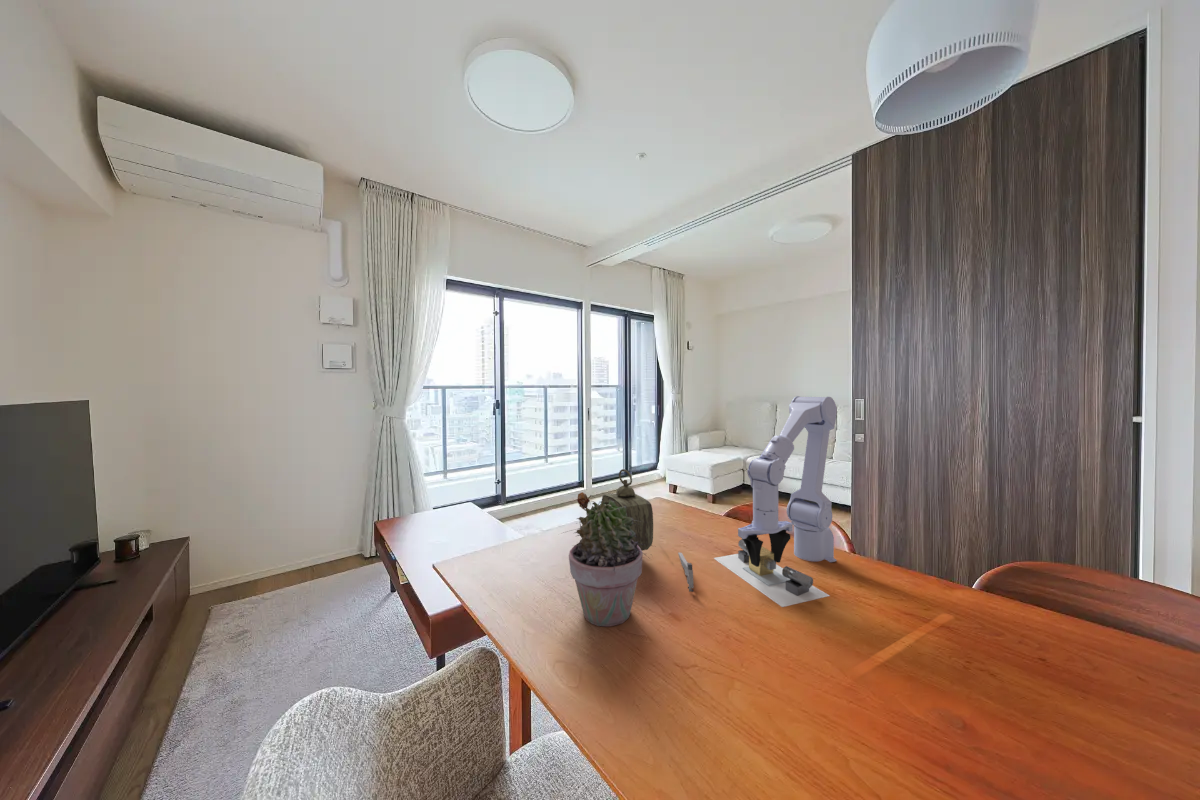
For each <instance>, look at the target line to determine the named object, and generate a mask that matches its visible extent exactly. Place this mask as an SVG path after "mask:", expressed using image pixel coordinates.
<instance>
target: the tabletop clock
mask: <svg viewBox="0 0 1200 800" xmlns="http://www.w3.org/2000/svg"><path fill="white" fill-rule="evenodd" d="M623 472H624V473H626V474H627V475H628V477H629V479H630V480H629V481H630V482H629V483H628V480H627V479H624V480H623V479H622V477H621V476H622V473H623ZM618 478H619V481H620V483H621V484H623V485H621V486H619V487H618V488H617V490H616V492H615V493H610V494H603V495H602V497H601V501H602V500H603V502H604V503H605V504H606V505H607V504H609V500H612V501H614V502H615V504H616V506H617V507H624V506H625V507H626V508H627V509H626V513H627V516H628V517H631V518H633V523H636V524H632V525H633V526H630V529H631V530H633V531H634V532H635V533H636V535H635V536H637V537H633V538H632V540H633V541H634V542H637V541H638V544H637V545H638V546H639V547H640V549H641V550H642V552H643V551H647V550H649V549H650V547H651V546H650V545H652V546H653V543H654V512H653V506H652V503H651V502H650V501H649V500H648V499H646V498H644V497H643V496H641V495H638V494H636V493H635V490H634V489H633V487H631V485H632V484H633V478H632V475H631V473H630V472H629V470H627V469H625V468H622V469H621V470H619V473H618ZM635 520H637V521H635ZM641 521H642V522H641ZM646 522H648V523H646ZM639 524H640V525H639ZM642 525H643V526H642ZM639 537H640V538H639ZM639 544H645V545H639Z"/></svg>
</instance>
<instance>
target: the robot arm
mask: <svg viewBox="0 0 1200 800" xmlns="http://www.w3.org/2000/svg"><path fill="white" fill-rule="evenodd" d="M788 405H789V406H788V413H789V416H788V417H787V419H786V421H785V423H784V425H783V427H782V429H781V431H780V433H779V435H773V436H772V438H771V439H770V440H769V442H768V444H767V445H766V447H765V448H764V449H763V451H762V452H761V454H760V456H759V457H756V458H754V459H752V460H751V461H750V462H749V464H748V468H747V471H746V472H747V476H748V479H749V480H750V487H751V489H752V521H751V523H750V524H748V525H745V526H742V527H738V528H737V537H739V538H741V539H743V541H744V543H745V545H746V547H747V550H748V553H749V556H750V560H751V564H753V565H754V566H756V567H759V564H760V551H761V547H763V544H764V541H763V540H761V539H759V536H762V535H763V536H764V535H768V536H769V542H770V551H771V552H772V553H774V561H776V563H778V564H780V562H781V560H782V556H783V555H784V554H783V553H784V550H785V548H786V546H787V544H788V542H789V541H790V540H791V534H790V533H788V532H793V555H794V556H795V557H797V558H799V559H801V560H804V561H808V562H821V561H823V560H826V561H827V562H829V563H835V562H837V559H836V558H835V557H834V556H835V555H834V554H835V551H834V549H835V548H834V546H835V545H834V543H835V537H834V533H833V531H832V530H831V528H830V526H831V524H832V523H833V510H832V505H833V504H832V501H831V500H830V499H829V498H828V497H827V496H826V495H825V494H824V492H822V491H823V486H824V485H823V484H824V476H825V469H826V460H827V455H828V446H829V440H830V439H829V437H830V433H831V432H830V431H831V430H834V429H835V424H836V421H837V412H838V407H837V405H836V402H835V400H834V398H833V397H831V396H799V395H796V396H794V397H793V398H792V399H791V401H790V404H788ZM804 429H806V432H807V438H806V439H807V440H806V447H805V453H804V461H803V469H802V476H801V482H800V483H801V484H800V488H799V489H797V490H796V491H793V492H792V493H791V494H790V499H789V501H788V503H787V505H786V515H787V518H788V519H789V520H790V521H787V520H784V521H783V520H782V521H779V484H780V483H781V482H782V481H783V479H784V475H785V470H786V463H787V461H788V460H789V458H790V457H791V455H792V454H793V452H794V450H795V445H794V442H795V440H796V438H797V437H798V436H799V435H800V434H801V432H802V431H803V430H804Z"/></svg>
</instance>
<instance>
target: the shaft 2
mask: <svg viewBox="0 0 1200 800" xmlns="http://www.w3.org/2000/svg"><path fill="white" fill-rule="evenodd" d="M782 568H783V570H782V575H783V576H784V577H786V578H788V579H790V580H788V581H786V590H787V591H789V592H791V593H793V594H795V595H796V596H799V595H801V594H804V593H806V592H809V588H810V587H811V586H812V585H813V586H814V578H813V577H812V576H810V575H808V574H806V573H803V572H801V571H799V570H797V569H794V568H792V567H789V566H787V565H785V566H784V567H782Z"/></svg>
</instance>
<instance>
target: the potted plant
mask: <svg viewBox="0 0 1200 800" xmlns="http://www.w3.org/2000/svg"><path fill="white" fill-rule="evenodd" d="M591 497H593V498H595V499H596V497H595V496H593V495H592V494H590V495H589V497H588V496H587V494H586V493H585V492H583V491H581V492H580V493H578V494H577V503H578V505H579V507H580V508H581V509H582V510H584V511H585V513H586V517H582V516H579V517H577V518H576V520H579V522H577V523H575V524H579V527H578V528H576V529H574V530H575V532H574V534H577V535H576V537H579V536H580V540H579V542H577V543H576V544H573V545H571V546H572V547H571V549H570V550H569V552H568V560H569V561H568V562H569V571H570V574H571V577H572V579H574V580H575V581H574V582H575V586H576V589H577V593H578V598H579V601H580V605H581V609H582V612H583V617H584V618H585V620H586V621H587V622H588V623H590V624H592V625H594V626H597V627H606V628H609V627H614V626H619V625H622V624H624V623H625V622H626V621H627V620H628V619H629V618H630V615H631V611H632V607H633V603H634V598H635V592H636V588H637V582H638V579H639V578H640V577H641V576H642V575H641V574H642V571H643V558H644V557H643V556H646V553H644V552H643V551H642V550H641V549H640V547H639V546H638V545H637V544H638V541H637V542H634V541H633V540H632V538H633V537H637V536H635V535H636V533H635V532H634V531H633V530H631V529H630V526H633V525H632V524H636V523H633V518H631V517H628V516H627V513H626V509H627V508H626V507H625V506H624V507H617V506H616V504H615V502H614V501H612V500H609V504H607V505H606V504H605V503H604V502H603V500H602V499H601V501H599V502H598V503H597V502H596V501H593V500H591V501H590V498H591ZM590 502H592V503H590ZM589 504H590V507H591V508H588V506H589ZM591 504H592V505H591ZM635 521H637V520H635ZM641 522H642V521H641ZM646 523H648V522H646ZM581 524H582V525H581ZM639 525H640V524H639ZM642 526H643V525H642ZM571 531H573V529H571V530H570V532H571ZM567 532H569V530H567V531H566V533H567ZM563 533H564V534H565V531H564V532H561V533H559V535H560V534H563ZM639 538H640V537H639ZM639 545H645V544H639ZM650 547H653V544H652V545H650ZM654 547H656V546H655V545H654ZM651 556H652V558H653V555H651ZM648 558H649V559H650V560H651V558H650V557H648Z"/></svg>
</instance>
